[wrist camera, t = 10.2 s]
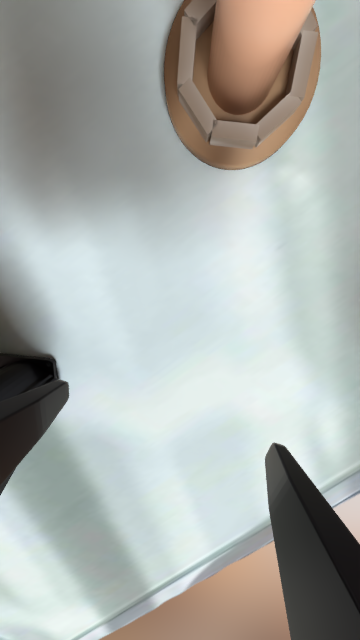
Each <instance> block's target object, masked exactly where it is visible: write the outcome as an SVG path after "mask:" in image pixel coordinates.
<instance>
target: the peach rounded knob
mask: <svg viewBox="0 0 360 640" xmlns="http://www.w3.org/2000/svg"><path fill="white" fill-rule="evenodd" d="M315 1H316V0H216V8H215V16H214V24H213V32H212V39H211V47H210V55H209V63H208V75H207V78H208V85H209V90H210V93H211V95H212V98H213V99H214V101H215V103H216V104H217V105H218V106H219V107H220V108H221V109H222V110H224V111H225V112H227V113H229V114H233V115H243V114H247V113H250V112H252V111H253V110H255V109H256V108H258V107H259V106H260V105H261V104H262V103H263V101H264V100H265V99H266V97H267V96H268V94H269V92H270V90H271V88H272V86H273V84H274V82H275V80H276V78H277V76H278V74H279V72H280V70H281V68H282V66H283V64H284V62H285V60H286V58H287V56H288V54H289V52H290V50H291V49H292V47H293V45H294V43H295V41H296V39H297V37H298V35H299V33H300V31H301V29H302V27H303V25H304V23H305V21H306V19H307V17H308V15H309V13H310V11H311V9H312V7H313V5H314V3H315Z"/></svg>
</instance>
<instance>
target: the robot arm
mask: <svg viewBox="0 0 360 640" xmlns="http://www.w3.org/2000/svg"><path fill="white" fill-rule="evenodd" d="M49 363H51V364H49ZM68 398H69V385H68V382H66V381H63V380H58V379H57V372H56V362H55V361H54V360H53V359H50V358H40V357H29V356H19V355H8V354H0V495H1V493H2V491H3V490H4V488H5V486H6V484H7V483H8V481H9V479H10V477H11V476H12V474H13V472H14V470H15V469H16V467H17V465H18V464H19V463H20V462H21V461H22V460H23V458H24V457H25V456H26V455H27V454H28V452H29V451H30V450H31V449H32V448H33V446H34V445H35V444H36V443H37V442H38V441H39V439H40V438H41V437H42V436H43V434H44V433H45V432H46V430H47V429H48V428H49V426H50V425H51V423H52V422H53V421H54V419H55V418H56V416H57V415H58V413H59V412H60V411H61V409H62V408H63V406H64V405H65V404H66V402H67V400H68ZM265 467H266V480H267V492H268V504H269V512H270V519H271V524H272V530H273V536H274V542H275V548H276V554H277V560H278V566H279V572H280V577H281V583H282V589H283V595H284V601H285V607H286V613H287V619H288V624H289V630H290V636H291V640H360V544H359V543H358V542H357V540H356V539H355V537H354V536H353V535H352V534H351V532H350V531H349V530H348V528H347V527H346V526H345V524H344V523H343V522H342V520H341V519H340V518H339V517H338V515H337V514H336V513H335V511H334V510H333V509H332V507H331V506H330V505H329V503H328V502H327V501H326V499H325V498H324V497H323V495H322V494H321V493H320V492H319V490H318V489H317V488H316V486H315V485H314V484H313V482H312V481H311V480H310V478H309V477H308V476H307V474H306V473H305V472H304V471H303V469H302V468H301V467H300V465H299V464H298V463H297V461H296V460H295V459H294V457H293V456H292V455H291V453H290V452H289V451H288V450H287V448H286V447H285V446H284V445H281V444H278V443H272V445H271V447H270V449H269V450H268V452H267V454H266V457H265Z"/></svg>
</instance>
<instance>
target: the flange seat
mask: <svg viewBox="0 0 360 640" xmlns="http://www.w3.org/2000/svg"><path fill="white" fill-rule="evenodd" d="M215 8H216V0H184V2H183V4H182V5H181V7H180V9H179V11H178V13H177V15H176V17H175V20H174V22H173V24H172V28H171V31H170V34H169V37H168V42H167V47H166V53H165V62H164V81H165V91H166V101H167V106H168V111H169V115H170V118H171V121H172V124H173V126H174V128H175V131H176V133H177V135H178V136H179V138H180V140H181V141H182V143H183V144H184V145H185V147H186V148H187V149H188V150H189V151H190V152H191V153H192V154H193V155H194V156H195V157H197V158H198V159H199V160H201V161H202V162H204V163H206V164H208V165H210V166H213V167H215V168H219V169H224V170H239V169H245V168H248V167H252V166H254V165H256V164H259V163H261V162H262V161H264V160H266V159H267V158H269V157H270V156H271V155H273V154H274V153H275V152H276V151H277V150H278V149H279V148H280V147H281V146H282V145H283V144H284V143H285V142H286V141H287V140H288V138H289V137H290V136H291V135H292V134H293V132H294V131H295V130H296V128H297V127H298V126H299V124H300V122H301V121H302V119H303V118H304V116H305V114H306V112H307V110H308V108H309V106H310V103H311V101H312V98H313V96H314V92H315V89H316V85H317V82H318V76H319V71H320V61H321V40H320V32H319V26H318V22H317V18H316V14H315V11H314V9H313V7H312V9H311V11H310V13H309V15H308V17H307V19H306V21H305V23H304V25H303V27H302V29H301V31H300V33H299V35H298V37H297V39H296V41H295V43H294V45H293V47H292V49H291V50H290V52H289V54H288V56H287V58H286V60H285V62H284V64H283V66H282V68H281V70H280V72H279V74H278V76H277V78H276V80H275V82H274V84H273V86H272V88H271V90H270V92H269V94H268V96H267V97H266V99H265V100H264V101H263V103H262V104H261V105H260V106H259V107H258V108H256V109H255V110H253V111H252V112H250V113H247V114H243V115H233V114H229V113H227V112H225V111H224V110H222V109H221V108H220V107H219V106H218V105H217V104H216V103H215V101H214V99H213V98H212V95H211V93H210V90H209V85H208V78H207V75H208V63H209V55H210V47H211V39H212V32H213V24H214V16H215Z"/></svg>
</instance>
